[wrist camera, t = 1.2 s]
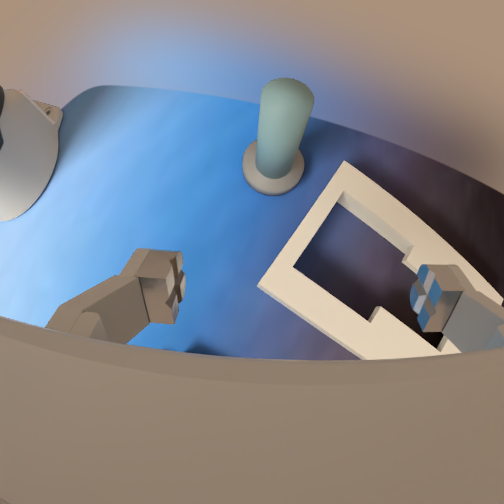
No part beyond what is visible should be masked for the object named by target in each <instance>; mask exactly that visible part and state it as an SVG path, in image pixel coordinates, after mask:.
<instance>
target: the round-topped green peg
mask: <svg viewBox="0 0 504 504" xmlns="http://www.w3.org/2000/svg"><path fill="white" fill-rule="evenodd" d="M313 104H314V96H313V93H312V92H311V90H310V89H309V88H308V87H307V86H306V85H305V84H304V83H302V82H300V81H298V80H295V79H291V78H278V79H274V80H272V81H270V82H268V83H267V84H266V85H265V86H264V88H263V90H262V93H261V104H260V114H259V125H258V136H257V140H255V141H254V142H252V143H251V144H250V145H249V146H248V148H247V149H246V151H245V153H244V156H243V175H244V178H245V180H246V182H247V183H248V184H249V186H250V187H251V188H253V189H254V190H255V191H257V192H259V193H261V194H264V195H268V196H280V195H284V194H286V193H288V192H290V191H291V190H293V189H294V188H295V187H296V186H297V184H298V183H299V181H300V178H301V176H302V174H303V171H304V159H303V156H302V154H301V152H300V150H299V149H298V148H299V145H300V142H301V139H302V137H303V134H304V131H305V128H306V125H307V122H308V119H309V116H310V114H311V111H312V108H313Z"/></svg>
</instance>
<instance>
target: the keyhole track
mask: <svg viewBox="0 0 504 504" xmlns="http://www.w3.org/2000/svg"><path fill="white" fill-rule="evenodd" d="M336 202H338V203H339V204H340V205H342V206H343V207H344V208H346V209H347V210H349V211H350V212H351V213H353V214H354V215H355V216H357V217H358V218H359V219H361V220H362V221H363V222H365V223H366V224H367V225H369V226H370V227H371V228H372V229H374V230H375V231H376V232H378V233H379V234H380V235H381V236H383V237H384V238H385V239H387V240H388V241H389V242H390V243H392V244H393V245H394V246H395V247H397V248H398V249H399V250H400V251H402V252H403V253H404V254H405V256H404V258H403V260H402V263H404V264H405V265H406V266H407V267H408V268H410V269H411V270H412V271H413V272H414V273H416V274H417V272H418V270H419V267H420V266H421V265H422V264H436V265H457V266H459V267H460V269H461V270H462V271H463V273H464V274H465V276H466V277H467V278H468V280H469V281H470V283H471V284H472V286H473V287H474V288H475V290H476V291H480V292H481V293H483V294H484V295H486V296H487V297H489V298H490V299H492V300H493V301H495V302H496V303H497V304H499V305H500V306H501V304H502V302H503V298H502V297H501V296H500V295H499V294H498V293H497V292H496V290H495V289H494V288H493V287H492V286H491V285H490V284H489V283H488V282H487V281H486V280H485V279H484V278H483V277H482V276H481V275H480V274H479V273H478V272H477V271H476V270H475V269H474V268H473V267H472V266H471V265H470V264H469V263H468V262H467V261H466V260H465V259H464V258H463V257H462V256H461V255H460V254H459V253H458V252H457V251H456V250H455V249H453V248H452V247H451V246H450V245H449V244H448V243H447V242H446V241H445V240H444V239H443V238H441V237H440V236H439V235H438V234H437V233H436V232H435V231H434V230H432V229H431V228H430V227H429V226H428V225H427V224H426V223H424V222H423V221H422V220H421V219H420V218H419V217H417V216H416V215H415V214H414V213H413V212H411V211H410V210H409V209H408V208H407V207H405V206H404V205H403V204H402V203H400V202H399V201H398V200H397V199H395V198H394V197H393V196H392V195H390V194H389V193H388V192H387V191H385V190H384V189H383V188H381V187H380V186H379V185H377V184H376V183H375V182H373V181H372V180H371V179H369V178H368V177H367V176H365V175H364V174H363V173H361V172H360V171H359V170H357V169H356V168H354V167H353V166H352V165H350V164H349V163H347V162H346V161H345V160H344V161H343V163H342V164H341V166H340V167H339V169H338V170H337V172H336V173H335V175H334V176H333V178H332V179H331V180H330V182H329V183H328V185H327V186H326V188H325V189H324V191H323V192H322V194H321V195H320V197H319V198H318V199H317V201H316V202H315V204H314V205H313V207H312V208H311V210H310V211H309V212H308V214H307V215H306V217H305V218H304V220H303V221H302V222H301V224H300V225H299V227H298V228H297V230H296V231H295V232H294V234H293V235H292V237H291V238H290V240H289V241H288V242H287V244H286V245H285V247H284V248H283V249H282V251H281V252H280V254H279V255H278V257H277V258H276V259H275V261H274V262H273V264H272V265H271V266H270V268H269V269H268V271H267V272H266V273H265V275H264V276H263V278H262V279H261V280H260V282H259V283H258V285H257V287H258V288H260V289H261V290H263V291H264V292H265V293H267V294H268V295H270V296H271V297H273V298H274V299H275V300H277V301H278V302H280V303H281V304H282V305H284V306H285V307H287V308H288V309H290V310H291V311H292V312H294V313H295V314H297V315H298V316H299V317H301V318H302V319H304V320H305V321H307V322H308V323H310V324H311V325H312V326H314V327H315V328H317V329H318V330H320V331H321V332H322V333H324V334H325V335H327V336H328V337H330V338H331V339H333V340H334V341H336V342H337V343H338V344H340V345H341V346H343V347H344V348H346V349H347V350H349V351H350V352H352V353H353V354H355V355H356V356H358V357H359V358H361V359H362V360H375V359H396V358H412V357H424V356H436V355H446V354H455V353H461V352H460V351H459V350H458V348H457V347H456V346H455V345H454V344H453V343H452V342H451V341H450V340H449V339H448V338H447V337H446V336H445V335H444V336H443V338H442V340H441V342H440V344H439V345H438V347H437V349H436V348H434V347H433V346H432V345H431V344H429V343H428V342H427V341H425V340H424V339H423V338H422V337H420V336H419V335H418V334H416V333H415V332H414V331H413V330H411V329H410V328H409V327H407V326H406V325H405V324H403V323H402V322H401V321H400V320H398V319H397V318H396V317H394V316H393V315H392V314H390V313H389V312H388V311H386V310H385V309H384V308H382V307H381V306H376V308H375V309H374V311H373V313H372V314H371V316H370V318H369V319H368V321H367V320H366V319H364V318H363V317H361V316H360V315H359V314H357V313H356V312H355V311H353V310H352V309H350V308H349V307H348V306H346V305H345V304H343V303H342V302H341V301H339V300H338V299H337V298H335V297H334V296H332V295H331V294H330V293H328V292H327V291H325V290H324V289H323V288H321V287H320V286H318V285H317V284H316V283H314V282H313V281H311V280H310V279H309V278H307V277H306V276H304V275H303V274H302V273H300V272H299V271H298V270H296V269H295V268H293V265H294V264H295V262H296V261H297V259H298V258H299V257H300V255H301V254H302V252H303V251H304V249H305V248H306V246H307V245H308V243H309V242H310V240H311V239H312V238H313V236H314V235H315V233H316V232H317V230H318V229H319V227H320V226H321V224H322V223H323V221H324V220H325V218H326V217H327V215H328V214H329V212H330V211H331V209H332V208H333V206H334V205H335V203H336Z"/></svg>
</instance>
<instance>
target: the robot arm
mask: <svg viewBox="0 0 504 504" xmlns="http://www.w3.org/2000/svg"><path fill="white" fill-rule="evenodd" d="M62 117H63V111H62V110H61V109H59V108H58V107H56V106H52V105H49V104H45V103H41V102H38V101H33V100H32V99H31V98H30V97H29V96H28V95H27V94H26V93H25V92H24V91H23V90H19V91H17V90H13V89H3V88H2V87H1V86H0V221H9V220H12V219H14V218H16V217H18V216H20V215H21V214H23V213H24V212H25V211H26V210H27V209H29V208H30V207H31V206H32V205H33V203H34V202H35V201H36V200H37V199H38V197H39V196H40V195H41V193H42V192H43V190H44V188H45V187H46V185H47V183H48V181H49V179H50V177H51V175H52V172H53V170H54V167H55V164H56V160H57V155H58V129H59V127H60V124H61V121H62ZM182 265H183V257H182V253H181V251H172V250H159V249H146V248H138V249H136V250H135V252H134V253H133V255H132V256H131V258H130V259H129V261H128V262H127V264H126V265H125V267H124V268H123V270H122V272H121V273H120V275H114V276H113V277H111V278H109V279H107V280H105V281H103V282H101V283H100V284H98V285H96V286H94V287H92V288H90V289H89V290H87V291H85V292H83V293H81V294H80V295H78V296H76V297H74V298H72V299H71V300H69V301H67V302H65V303H64V304H62V305H60V306H59V307H58V309H57V310H56V312H55V313H54V315H53V316H52V318H51V319H50V321H49V322H48V324H47V325H46V327H45V328H44V327H40V326H36V325H32V324H28V323H24V322H20V321H17V320H13V319H9V318H6V317H3V316H0V504H504V308H503V307H502V306H500V305H499V304H497V303H496V302H495V301H493V300H492V299H490V298H489V297H487V296H486V295H484V294H483V293H481V292H480V291H476V290H475V288H474V287H473V286H472V284H471V283H470V281H469V280H468V278H467V277H466V276H465V274H464V273H463V271H462V270H461V269H460V267H459V266H457V265H436V264H422V265H421V266H420V267H419V270H418V272H417V276H418V280H417V281H416V282H415V283H414V284H413V286H412V289H411V292H410V303H411V306H412V309H413V310H414V311H415V312H416V313H418V314H419V315H418V317H417V320H418V322H419V325H420V327H421V329H422V331H423V332H442V333H443V334H444V335H445V336H446V337H447V338H448V339H449V340H450V341H451V342H452V343H453V344H454V345H455V346H456V347H457V348H458V350H459V351H460V352H461V353H455V354H446V355H436V356H424V357H412V358H396V359H375V360H329V361H322V360H276V359H256V358H240V357H227V356H215V355H204V354H195V353H186V352H177V351H169V350H161V349H154V348H147V347H140V346H134V345H128V344H126V343H128V342H129V341H130V340H131V339H132V338H133V337H135V336H136V335H137V334H138V333H139V332H140V331H141V330H143V329H144V328H145V327H146V326H147V325H148V324H150V323H149V322H152V323H164V324H175V321H176V318H177V315H178V312H179V306H178V304H179V303H180V302H181V301H182V300H183V297H184V293H185V273H184V272H183V271H182V270H181V267H182Z"/></svg>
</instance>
